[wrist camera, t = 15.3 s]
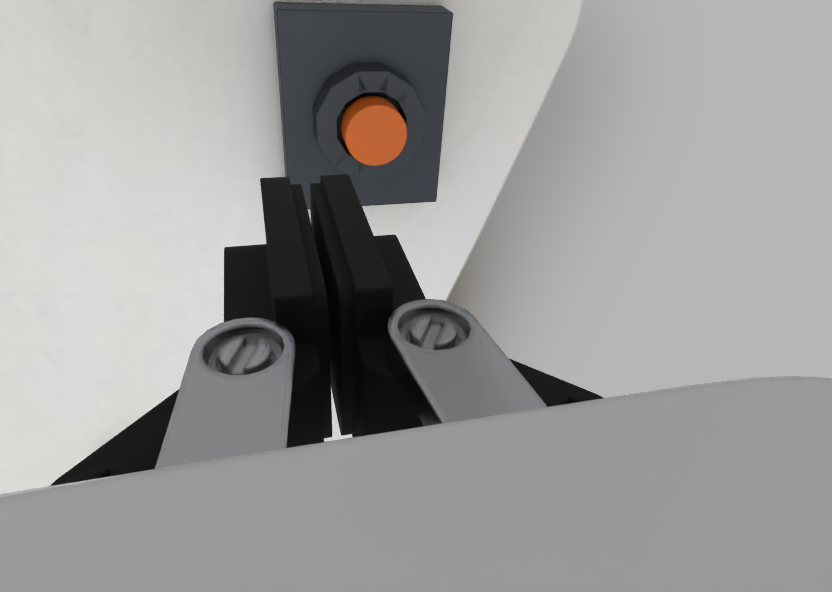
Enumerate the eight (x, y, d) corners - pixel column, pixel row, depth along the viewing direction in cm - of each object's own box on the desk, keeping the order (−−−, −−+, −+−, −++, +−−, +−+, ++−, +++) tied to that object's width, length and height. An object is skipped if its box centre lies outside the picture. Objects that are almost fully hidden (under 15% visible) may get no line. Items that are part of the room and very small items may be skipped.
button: (340, 95, 33) (345, 105, 32) (401, 94, 34) (409, 104, 33) (341, 156, 35) (345, 167, 34) (399, 153, 36) (405, 164, 35)
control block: (273, 1, 33) (278, 15, 30) (442, 5, 35) (463, 19, 32) (287, 196, 40) (292, 224, 37) (428, 188, 42) (443, 213, 39)
